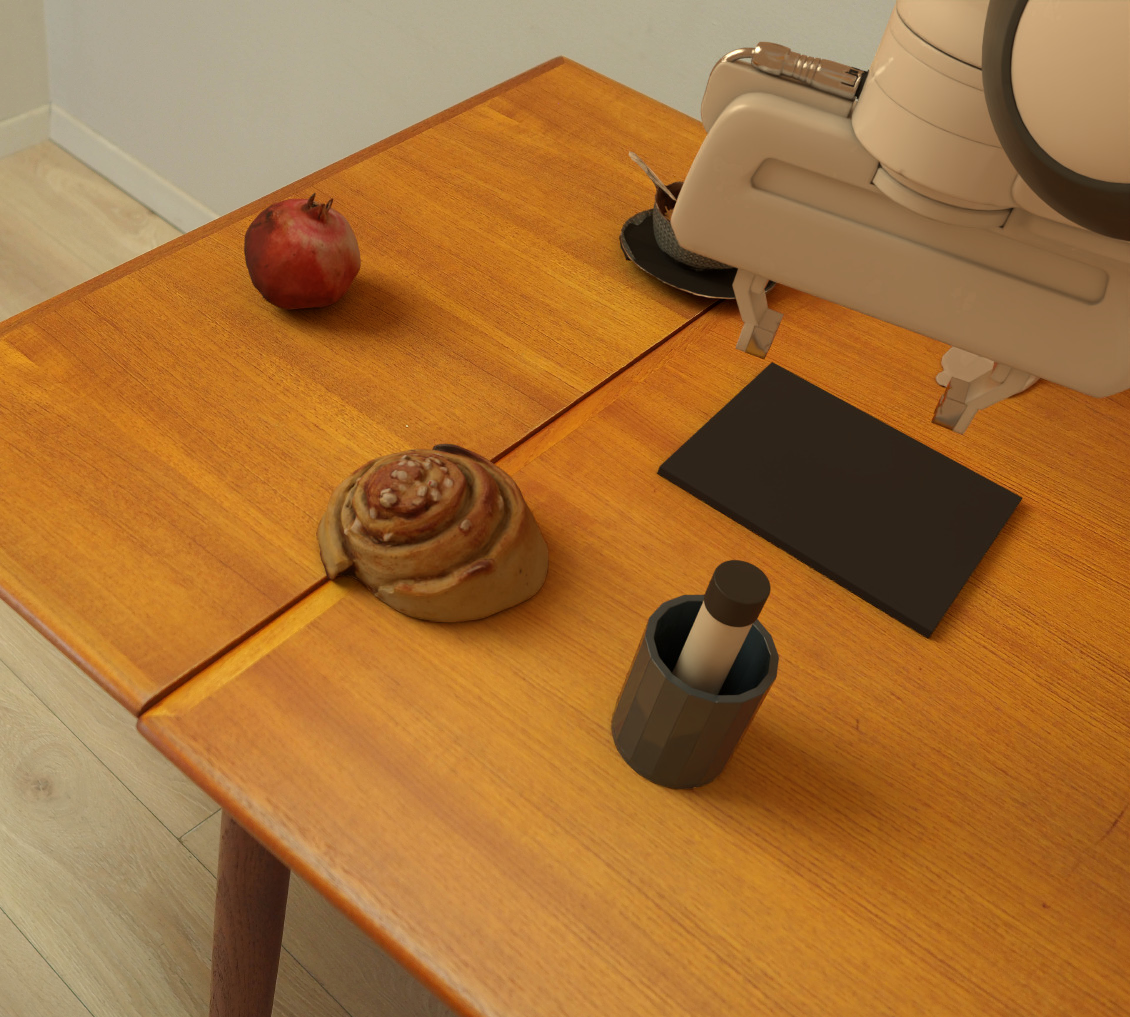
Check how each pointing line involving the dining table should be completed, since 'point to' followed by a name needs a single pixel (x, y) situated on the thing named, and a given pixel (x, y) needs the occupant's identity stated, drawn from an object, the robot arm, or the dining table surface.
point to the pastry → (435, 535)
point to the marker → (722, 624)
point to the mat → (845, 495)
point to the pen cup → (687, 702)
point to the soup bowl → (673, 248)
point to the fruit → (301, 254)
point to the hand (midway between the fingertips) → (848, 384)
